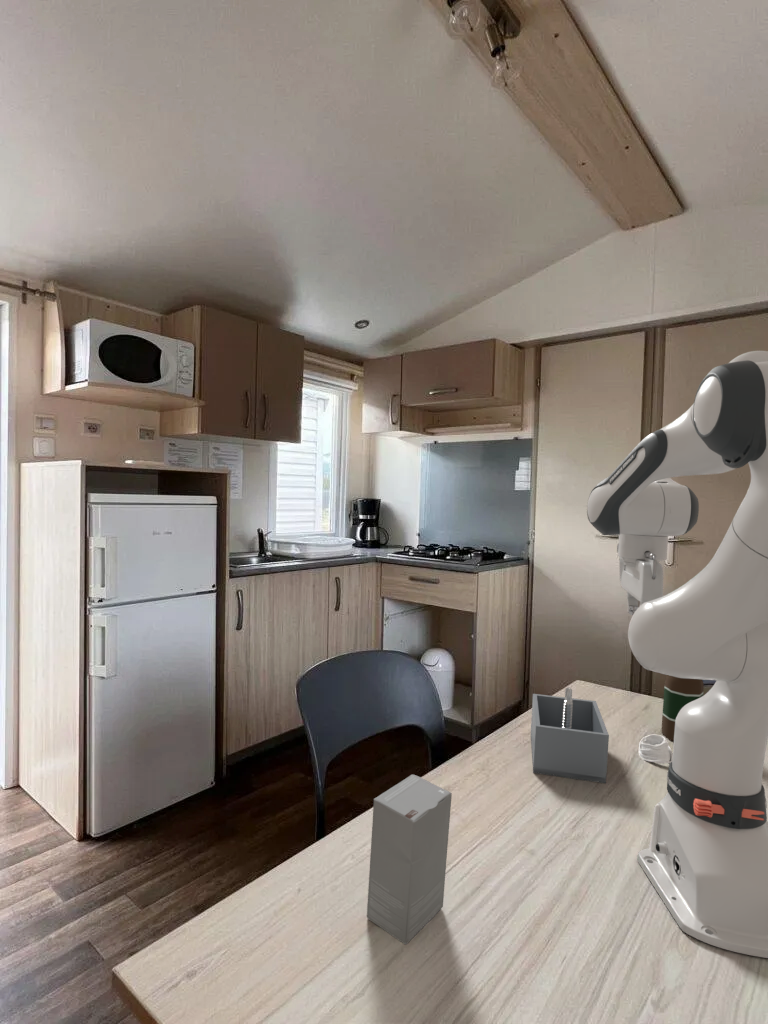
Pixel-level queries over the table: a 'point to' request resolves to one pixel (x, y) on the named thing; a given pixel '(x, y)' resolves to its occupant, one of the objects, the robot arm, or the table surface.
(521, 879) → the table surface
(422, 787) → the skincare box
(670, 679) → the beer bottle
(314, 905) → the table surface
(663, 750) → the white crumpled ring
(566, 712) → the screw
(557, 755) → the tote
